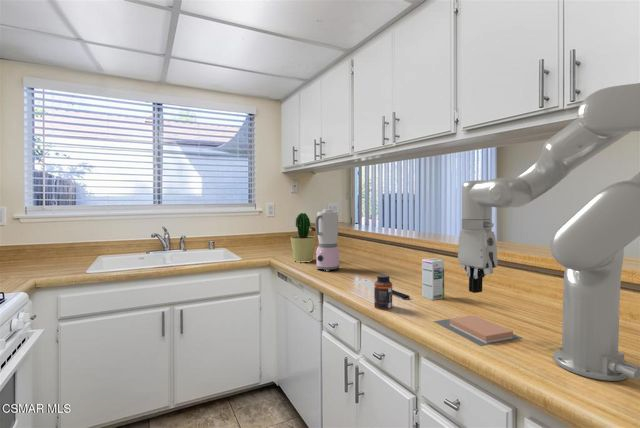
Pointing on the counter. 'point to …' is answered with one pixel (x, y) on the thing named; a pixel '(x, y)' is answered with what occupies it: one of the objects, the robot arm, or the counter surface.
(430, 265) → the syrup box
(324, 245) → the blender
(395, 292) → the kitchen cleaver
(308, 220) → the potted cactus
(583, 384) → the counter surface
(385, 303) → the supplement bottle
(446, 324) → the mat
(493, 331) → the tile
